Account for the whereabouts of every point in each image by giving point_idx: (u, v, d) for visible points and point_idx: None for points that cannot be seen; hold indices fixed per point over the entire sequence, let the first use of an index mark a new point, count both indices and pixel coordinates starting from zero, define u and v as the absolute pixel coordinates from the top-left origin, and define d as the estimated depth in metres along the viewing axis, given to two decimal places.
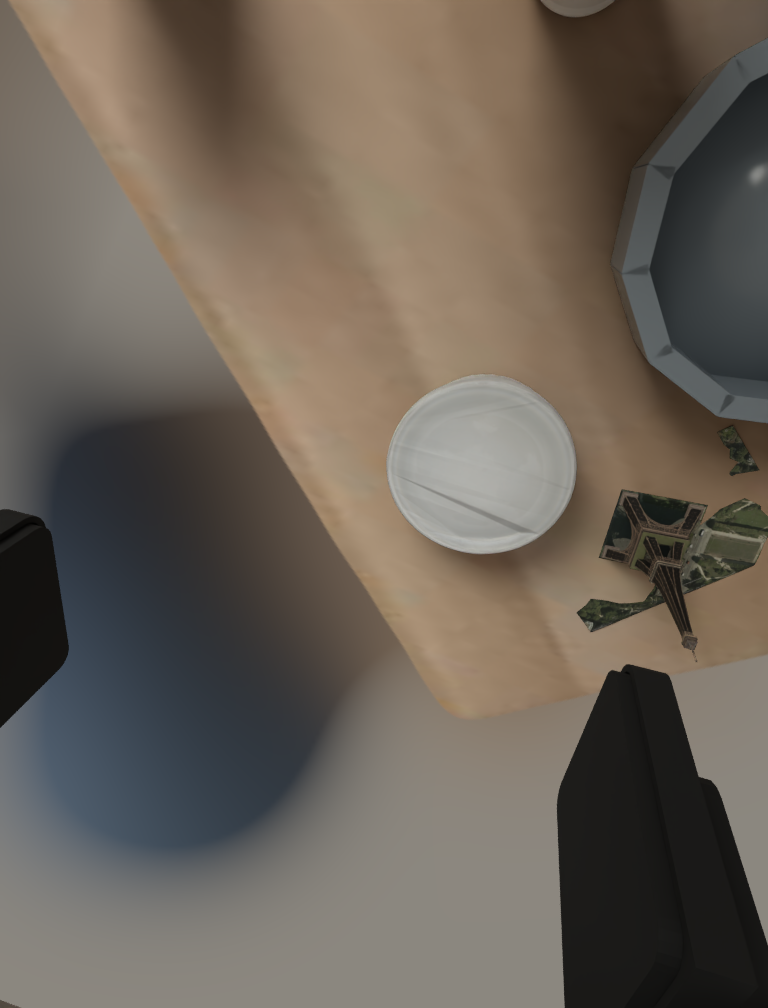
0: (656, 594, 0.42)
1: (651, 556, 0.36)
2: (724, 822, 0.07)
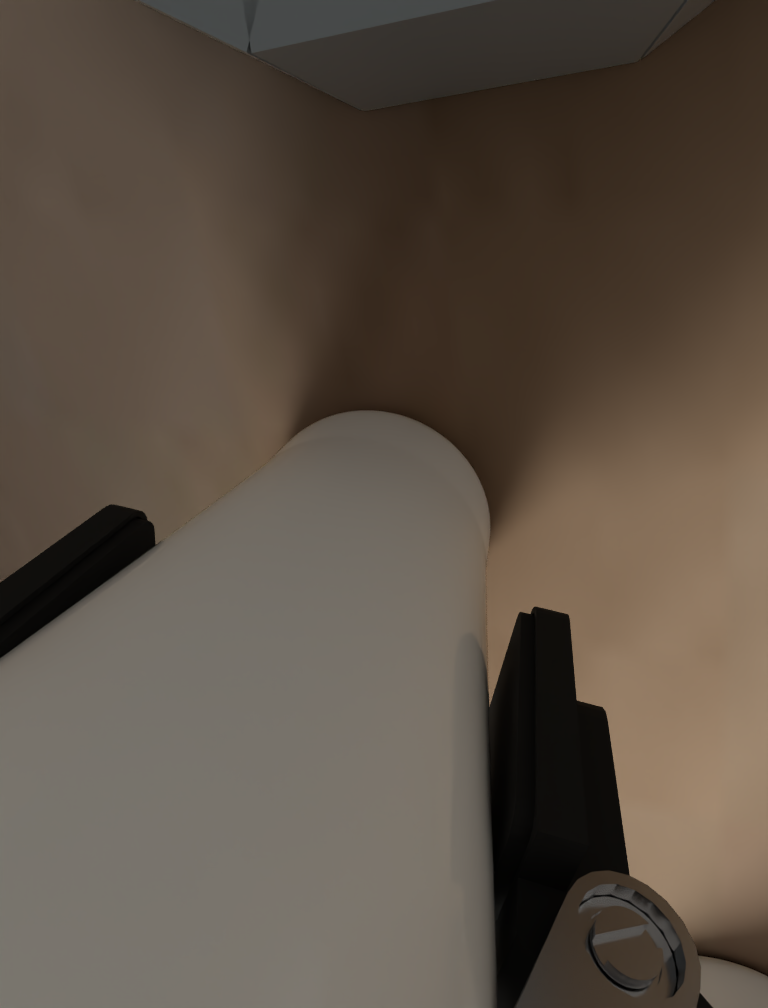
0: None
1: None
2: (608, 740, 0.08)
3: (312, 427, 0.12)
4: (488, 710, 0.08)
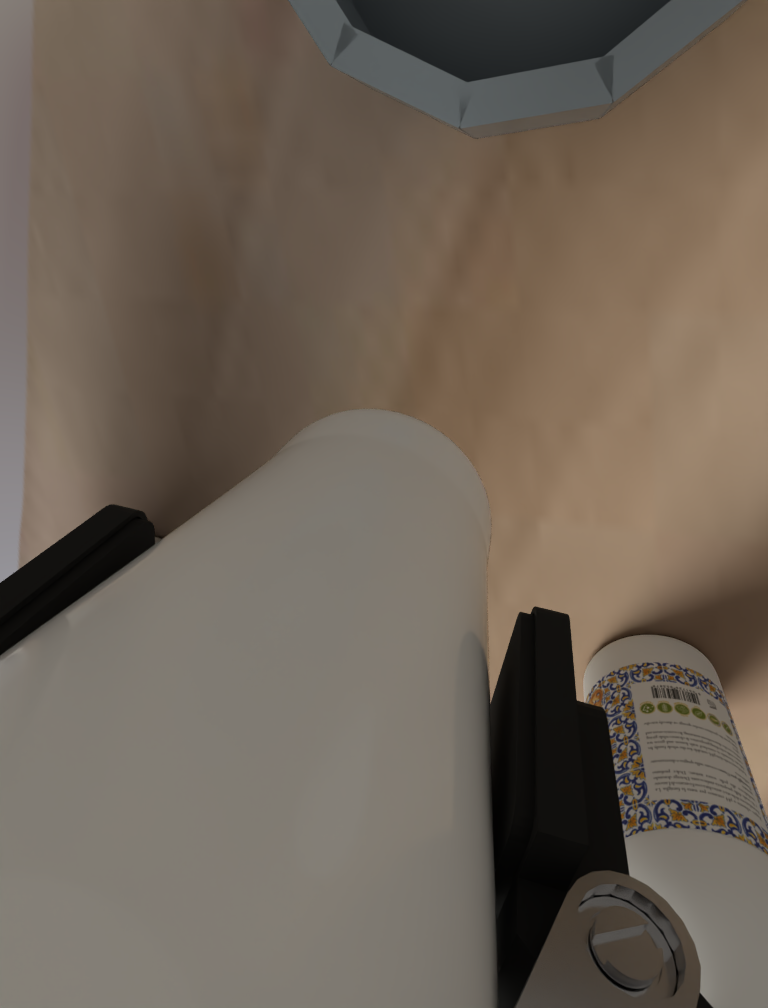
0: None
1: None
2: (607, 740, 0.08)
3: (313, 425, 0.13)
4: (489, 707, 0.08)
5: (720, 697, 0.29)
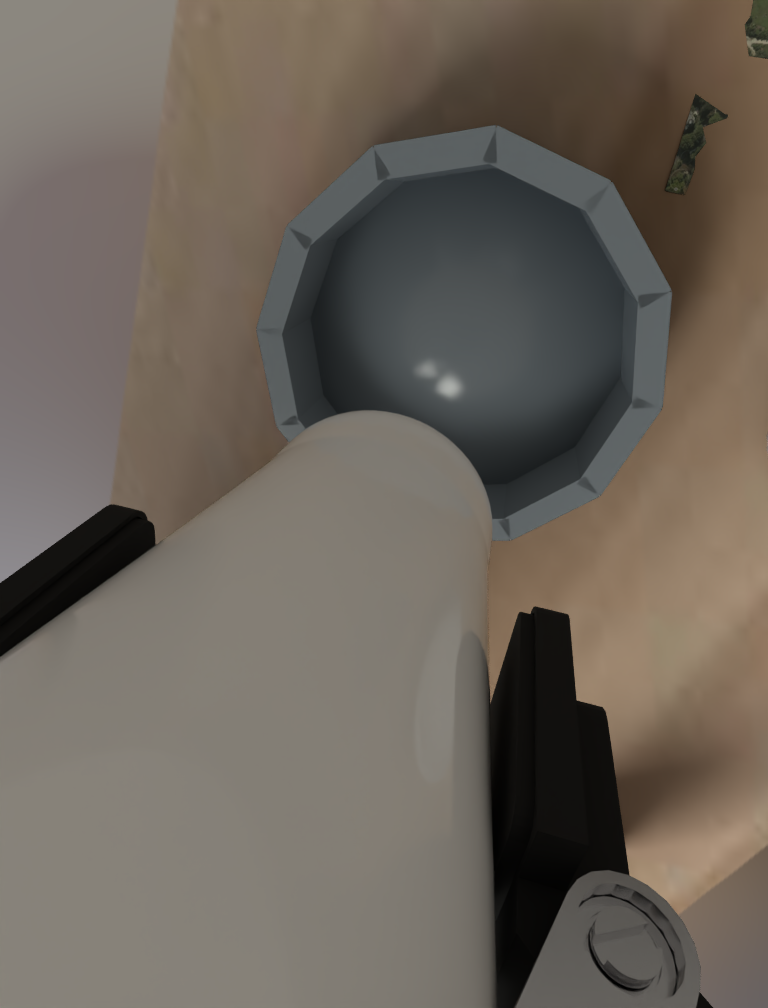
0: None
1: None
2: (608, 740, 0.08)
3: (314, 427, 0.12)
4: (489, 712, 0.08)
5: None
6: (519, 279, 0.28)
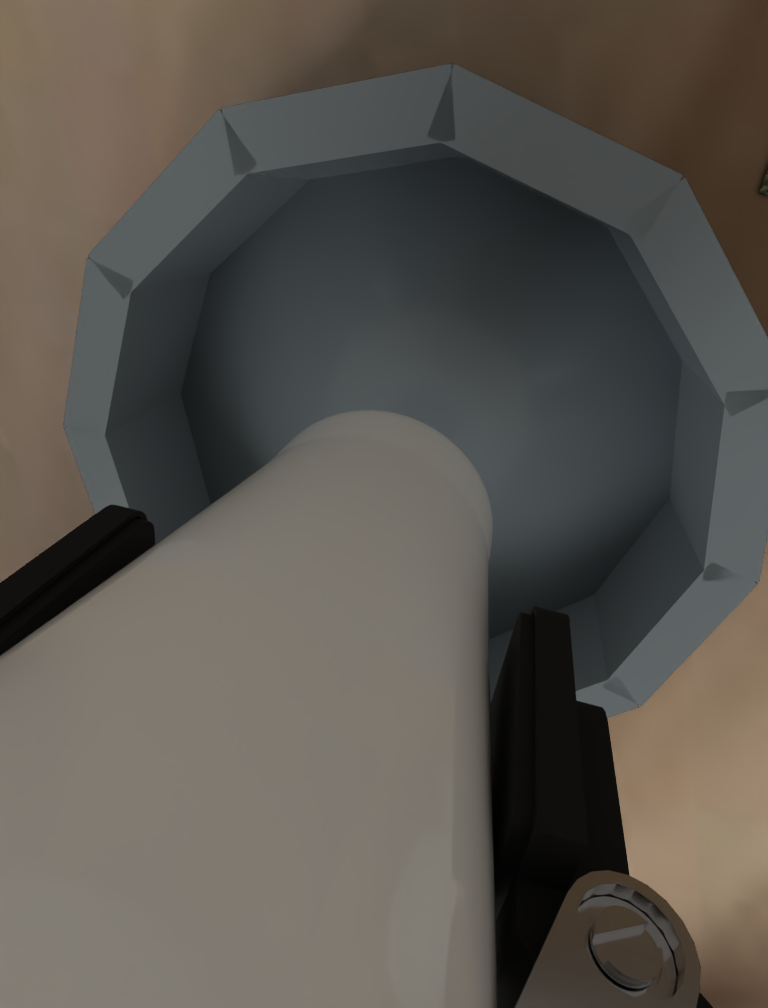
0: None
1: None
2: (607, 740, 0.08)
3: (314, 426, 0.12)
4: (489, 711, 0.08)
5: None
6: (505, 342, 0.17)
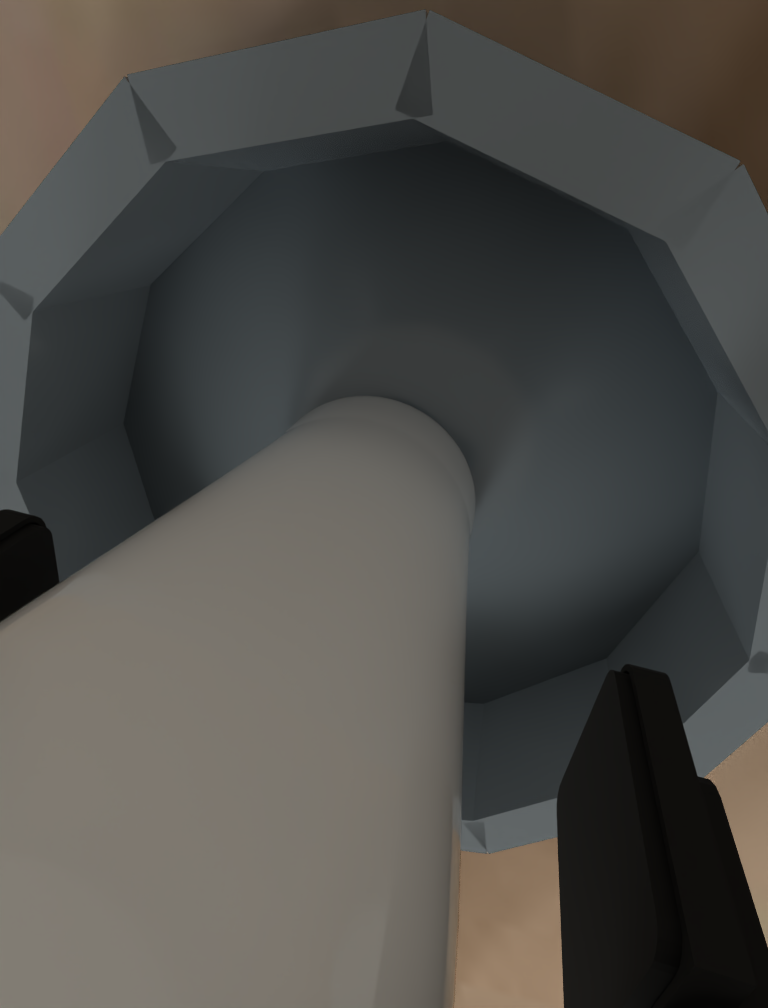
0: None
1: None
2: (724, 822, 0.07)
3: (314, 410, 0.14)
4: (464, 642, 0.09)
5: None
6: (502, 367, 0.14)
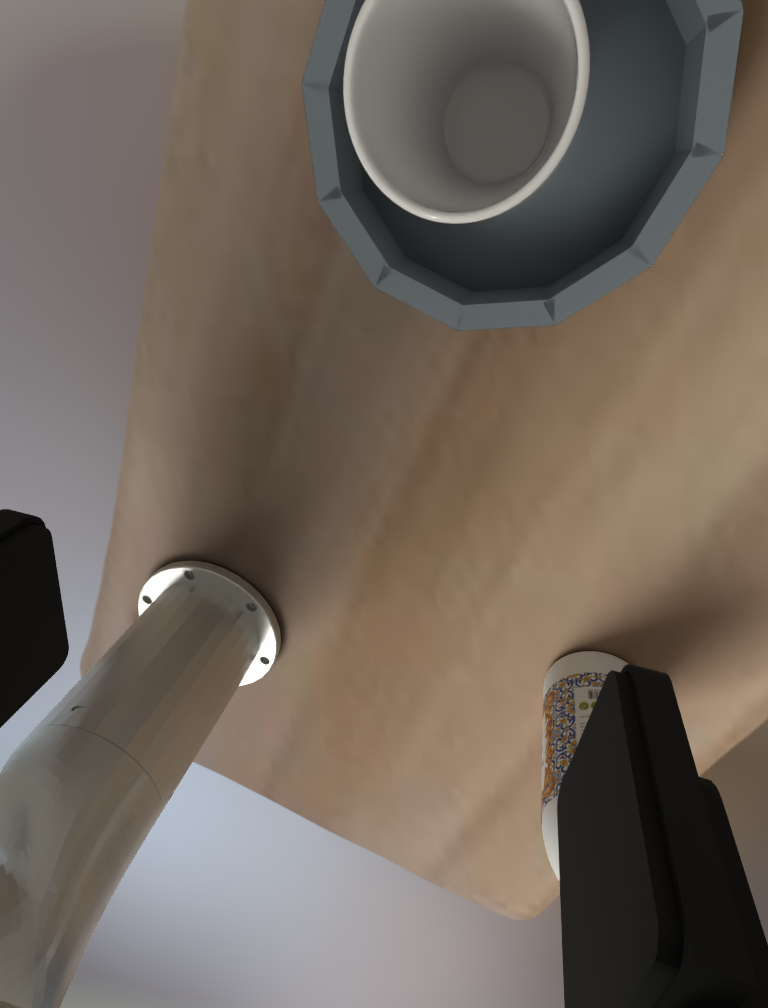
0: None
1: None
2: (725, 822, 0.07)
3: None
4: None
5: None
6: None
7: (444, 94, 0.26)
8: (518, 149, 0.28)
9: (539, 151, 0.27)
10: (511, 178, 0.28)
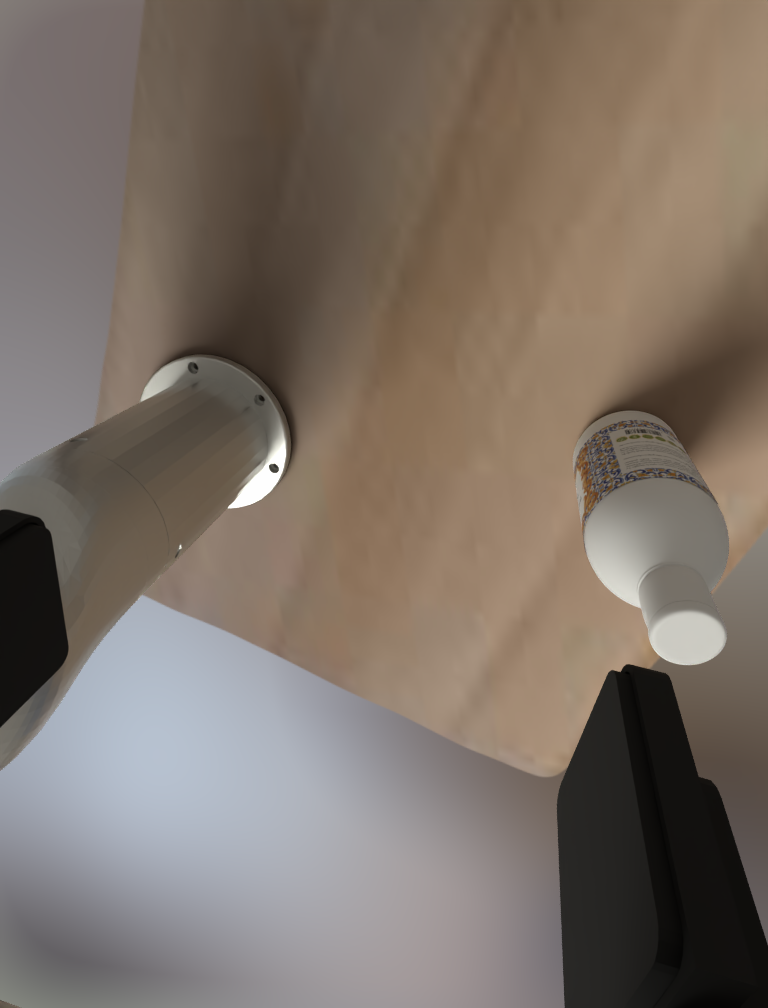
0: None
1: None
2: (725, 822, 0.07)
3: None
4: None
5: (678, 441, 0.37)
6: None
7: None
8: None
9: None
10: None
